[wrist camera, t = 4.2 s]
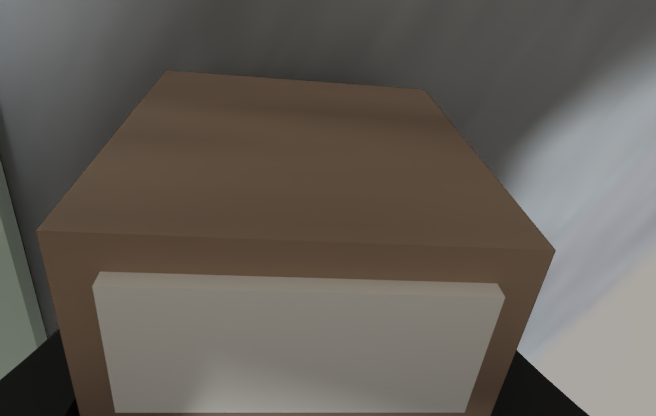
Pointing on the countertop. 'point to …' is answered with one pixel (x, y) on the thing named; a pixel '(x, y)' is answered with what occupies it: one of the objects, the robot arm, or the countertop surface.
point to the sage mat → (15, 292)
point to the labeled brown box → (289, 257)
